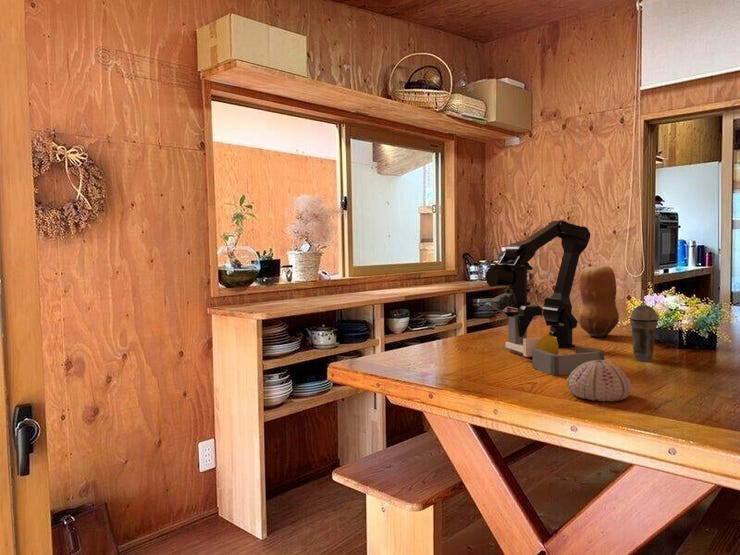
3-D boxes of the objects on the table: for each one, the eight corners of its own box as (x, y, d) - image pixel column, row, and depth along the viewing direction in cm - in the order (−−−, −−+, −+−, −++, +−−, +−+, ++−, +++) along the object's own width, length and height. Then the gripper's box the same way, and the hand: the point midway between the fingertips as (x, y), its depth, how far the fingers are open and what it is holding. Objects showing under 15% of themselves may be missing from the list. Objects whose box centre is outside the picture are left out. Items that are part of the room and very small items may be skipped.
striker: (528, 345, 180) (528, 315, 180) (556, 354, 166) (556, 321, 165) (499, 347, 177) (499, 316, 177) (525, 356, 163) (526, 323, 162)
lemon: (556, 360, 164) (556, 332, 163) (560, 364, 158) (560, 336, 158) (536, 360, 164) (536, 332, 164) (540, 364, 159) (540, 336, 158)
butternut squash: (577, 332, 210) (578, 264, 208) (617, 334, 205) (618, 264, 204) (578, 339, 197) (578, 266, 195) (620, 340, 192) (621, 266, 191)
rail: (512, 347, 184) (512, 344, 184) (540, 357, 169) (540, 353, 168) (501, 348, 183) (501, 345, 183) (528, 358, 167) (528, 354, 167)
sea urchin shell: (633, 407, 118) (633, 369, 118) (564, 401, 124) (564, 364, 123) (631, 391, 131) (631, 356, 130) (568, 386, 136) (568, 353, 135)
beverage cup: (660, 359, 163) (662, 289, 162) (652, 363, 158) (654, 291, 157) (634, 356, 168) (635, 288, 167) (625, 360, 163) (626, 290, 162)
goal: (579, 363, 160) (580, 345, 159) (604, 371, 150) (604, 352, 150) (532, 367, 155) (532, 349, 155) (554, 375, 146) (554, 356, 145)
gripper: (480, 283, 182) (480, 332, 183) (509, 288, 164) (509, 342, 166) (511, 282, 185) (511, 330, 186) (543, 287, 167) (543, 340, 169)
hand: (517, 335), depth 177 cm, fingers closed on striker, 4 cm apart
